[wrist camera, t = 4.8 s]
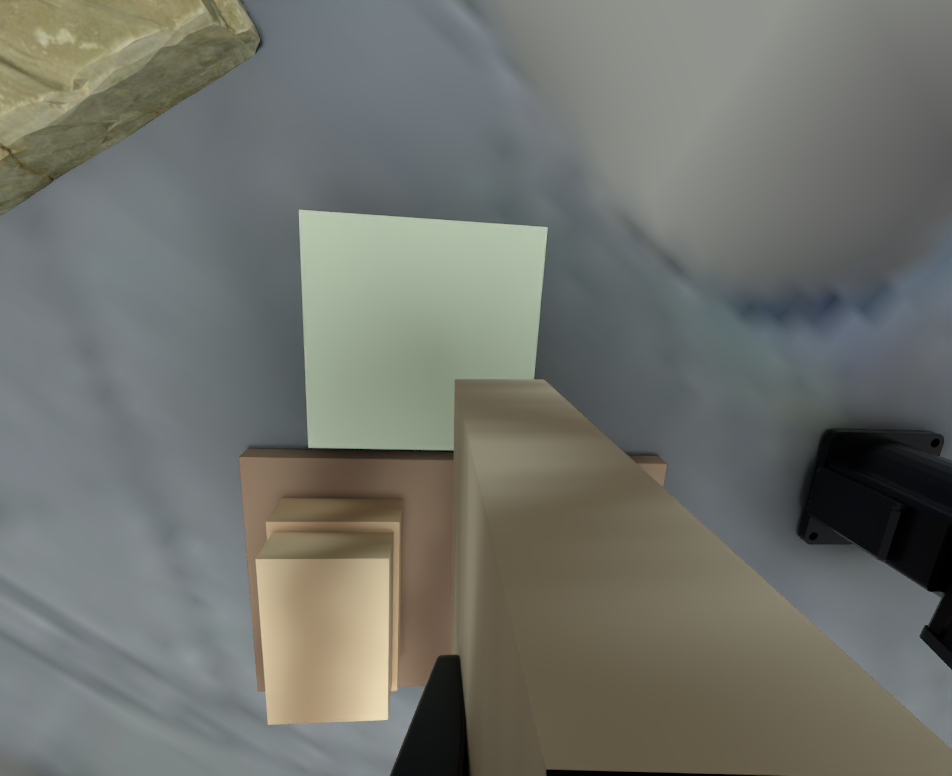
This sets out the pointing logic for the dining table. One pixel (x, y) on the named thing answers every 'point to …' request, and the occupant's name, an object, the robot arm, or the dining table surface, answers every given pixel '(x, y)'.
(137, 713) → the dining table surface
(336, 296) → the sage pad
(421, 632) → the walnut stand
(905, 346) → the dining table surface
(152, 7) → the decorative tile
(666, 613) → the birch board
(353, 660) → the pine offcut
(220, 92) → the dining table surface
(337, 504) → the oak offcut
